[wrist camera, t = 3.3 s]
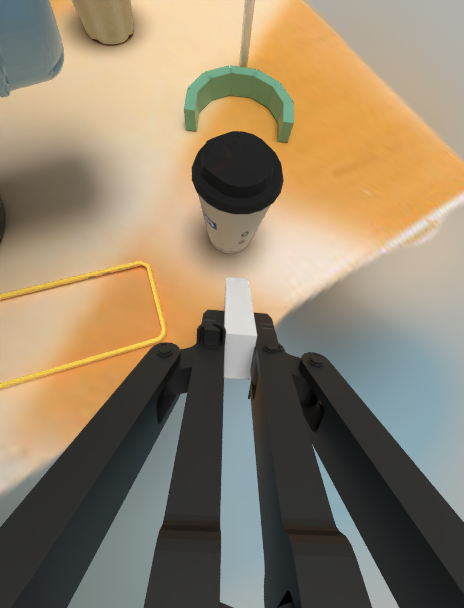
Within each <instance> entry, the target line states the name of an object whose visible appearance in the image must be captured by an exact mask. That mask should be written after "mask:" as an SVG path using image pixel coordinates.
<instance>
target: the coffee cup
mask: <svg viewBox="0 0 464 608" xmlns="http://www.w3.org/2000/svg"><path fill="white" fill-rule="evenodd" d="M192 181H193V184H194V186H195V189H196V191H197V193H198V195H199V199H200V203H201V207H202V211H203V215H204V219H205V223H206V227H207V231H208V235H209V238H210V241H211V243H212V244H213V246H214V247H215V248H216V249H218V250H220V251H221V252H225V253H237V252H240V251H242V250H243V249H245V248H246V247H247V246H248V244H249V243H250V241H251V239H252V237H253V236H254V234H255V232H256V230H257V228H258V227H259V225H260V223H261V221H262V219H263V218H264V216H265V214H266V212H267V210H268V209H269V207H270V205H271V204H272V203H274V201H275V200H276V198H277V197H278V196H279V194H280V193H281V189H282V185H283V174H282V167H281V163H280V161H279V159H278V157H277V155H276V153H275V152H274V151H273V150H272V149H271V148H270V147H269V146H268V145H267V144H266V143H265V142H264V141H263V140H262V139H260V138H259V137H257V136H255V135H253V134H250V133H246V132H239V131H232V132H229V133H226V134H223V135H220V136H217V137H215V138H212V139H210V140H208V141H207V143H206V144H205V145H204V146H203V147H202V148H201V149H200V150H199V152H198V154H197V156H196V158H195V161H194V163H193V166H192Z"/></svg>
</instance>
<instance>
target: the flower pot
mask: <svg viewBox="0 0 464 608" xmlns="http://www.w3.org/2000/svg"><path fill="white" fill-rule="evenodd" d="M72 2H73V4H74V6H75V8H76V10H77V13H78V15H79V17H80V19H81V21H82V23H83V26H84V28H85V30H86V32H87V34H88V35H89V36H90V37H91V38H92V39H97V40H98V41H100V42H101V43H103V44H118V43H122V42H124V41H126V40H127V39H128V37H129V35H130V34H133V31H134V25H133V17H132V9H131V1H130V0H72Z"/></svg>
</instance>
